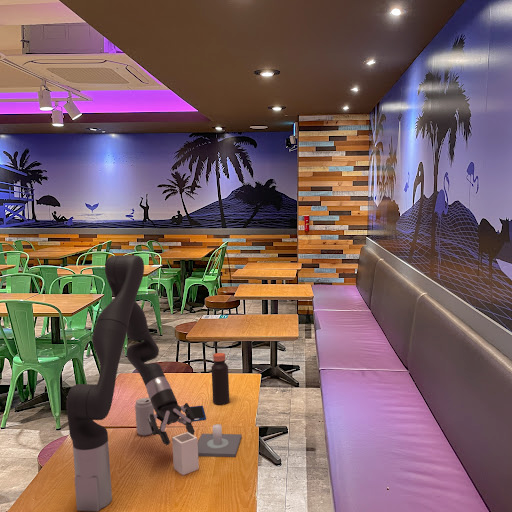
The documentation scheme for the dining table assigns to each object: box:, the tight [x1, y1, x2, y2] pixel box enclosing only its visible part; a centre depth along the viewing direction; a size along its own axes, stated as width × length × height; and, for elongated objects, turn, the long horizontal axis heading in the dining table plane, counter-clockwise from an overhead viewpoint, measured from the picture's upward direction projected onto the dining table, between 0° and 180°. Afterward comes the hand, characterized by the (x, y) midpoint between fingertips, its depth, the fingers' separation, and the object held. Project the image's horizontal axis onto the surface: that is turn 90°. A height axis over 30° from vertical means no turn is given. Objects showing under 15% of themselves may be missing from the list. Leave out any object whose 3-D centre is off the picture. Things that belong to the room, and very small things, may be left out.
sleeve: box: [171, 431, 200, 476], centre depth 159 cm, size 6×6×10 cm
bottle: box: [210, 352, 230, 406], centre depth 210 cm, size 7×7×20 cm
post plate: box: [197, 423, 243, 458], centre depth 173 cm, size 14×14×7 cm
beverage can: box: [134, 397, 155, 437], centre depth 185 cm, size 6×6×12 cm
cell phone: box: [185, 405, 207, 423], centre depth 200 cm, size 7×14×1 cm, turn 12°
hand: (180, 439), depth 160 cm, fingers open, 8 cm apart
